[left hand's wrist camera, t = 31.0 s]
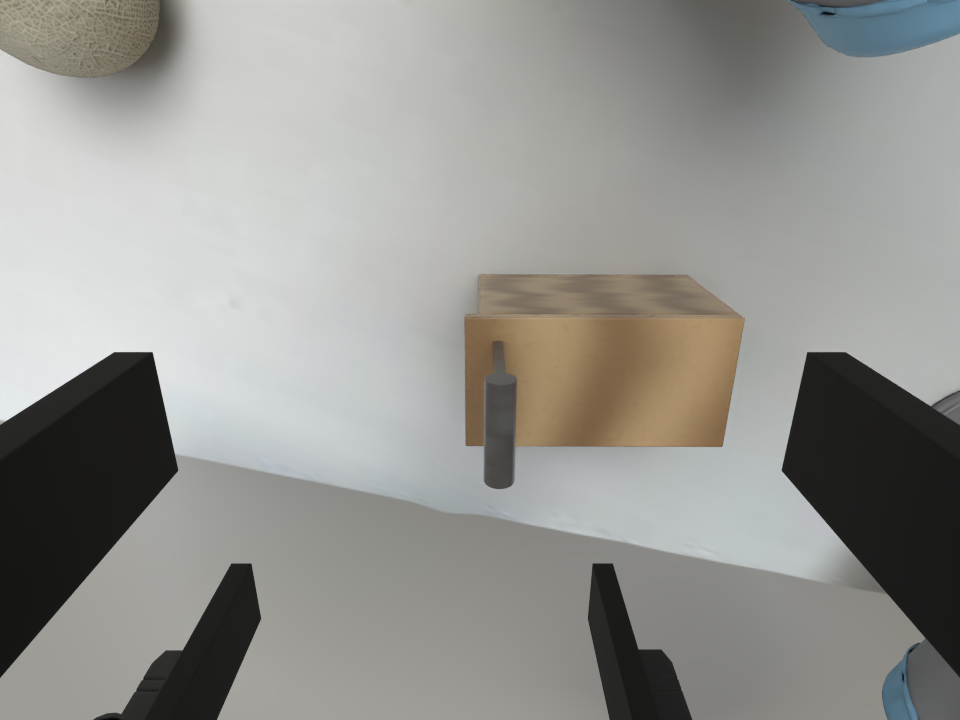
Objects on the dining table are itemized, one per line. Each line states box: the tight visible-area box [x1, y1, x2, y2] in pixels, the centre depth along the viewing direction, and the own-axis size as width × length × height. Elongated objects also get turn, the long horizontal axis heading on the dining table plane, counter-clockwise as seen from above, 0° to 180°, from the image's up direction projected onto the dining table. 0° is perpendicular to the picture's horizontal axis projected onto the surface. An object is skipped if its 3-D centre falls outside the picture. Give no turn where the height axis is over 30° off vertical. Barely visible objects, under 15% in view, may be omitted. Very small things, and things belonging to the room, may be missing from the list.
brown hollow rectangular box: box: [478, 275, 739, 315], centre depth 47 cm, size 17×10×11 cm, turn 90°
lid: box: [465, 314, 744, 489], centre depth 38 cm, size 18×10×8 cm, turn 90°
